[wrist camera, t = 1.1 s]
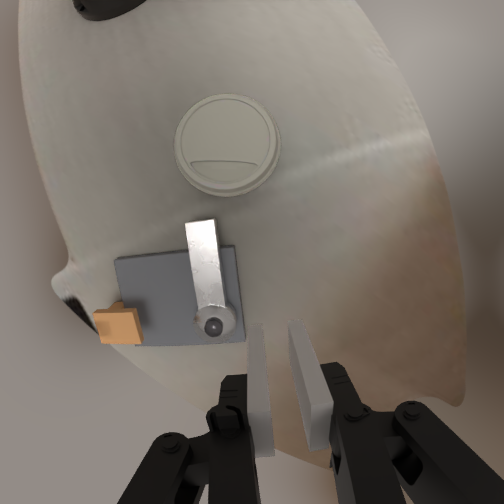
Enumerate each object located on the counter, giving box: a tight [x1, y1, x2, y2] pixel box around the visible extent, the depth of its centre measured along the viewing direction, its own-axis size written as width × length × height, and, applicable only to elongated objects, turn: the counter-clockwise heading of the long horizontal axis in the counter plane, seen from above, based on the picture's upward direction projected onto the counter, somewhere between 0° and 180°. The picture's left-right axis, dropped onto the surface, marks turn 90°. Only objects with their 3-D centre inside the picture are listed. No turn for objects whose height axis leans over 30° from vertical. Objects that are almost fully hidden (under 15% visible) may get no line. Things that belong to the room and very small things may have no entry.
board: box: [114, 245, 246, 346], centre depth 34 cm, size 12×15×2 cm
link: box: [185, 218, 237, 343], centre depth 31 cm, size 14×5×3 cm, turn 6°
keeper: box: [92, 302, 144, 344], centre depth 32 cm, size 4×6×6 cm
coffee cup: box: [174, 93, 281, 197], centre depth 25 cm, size 8×8×12 cm
